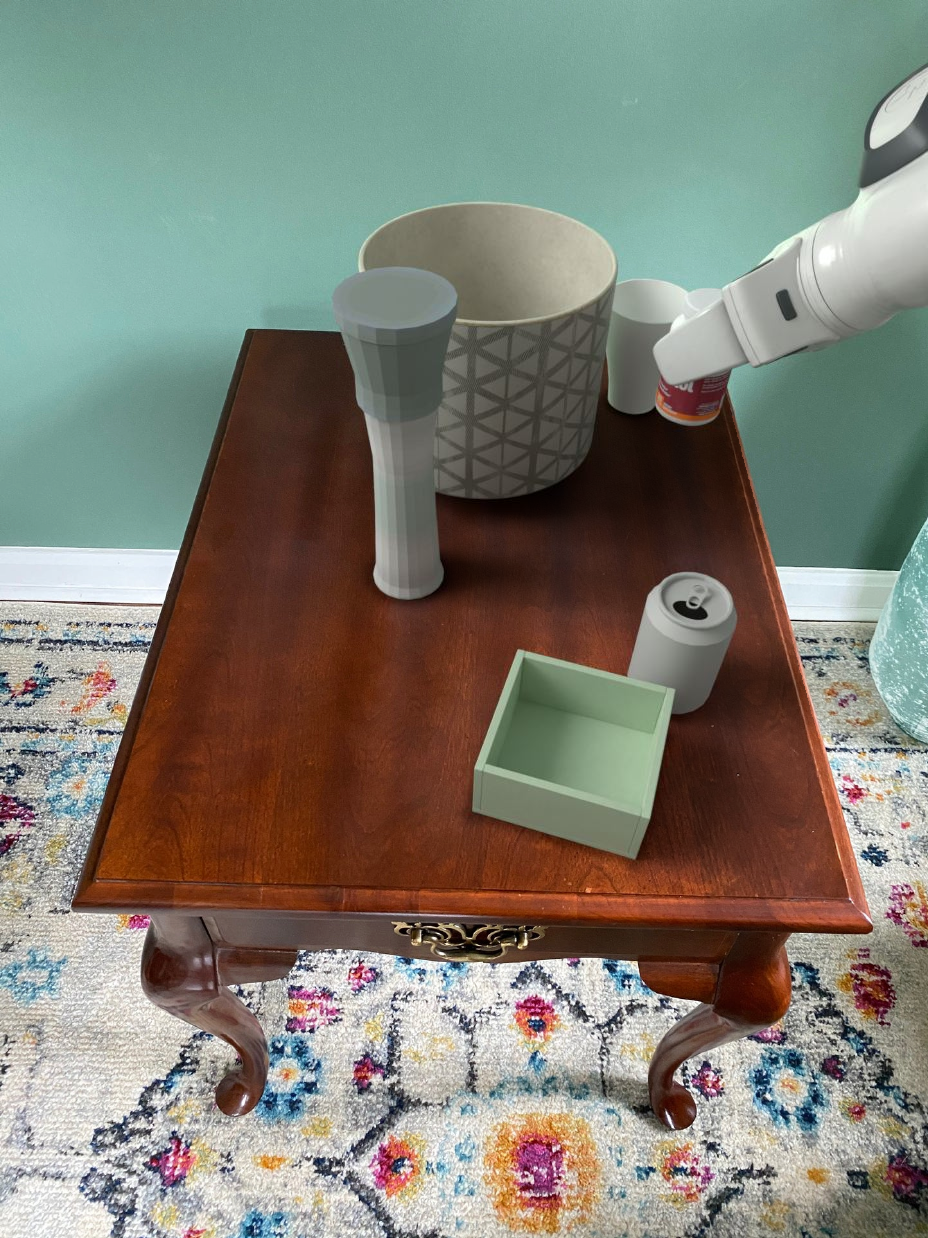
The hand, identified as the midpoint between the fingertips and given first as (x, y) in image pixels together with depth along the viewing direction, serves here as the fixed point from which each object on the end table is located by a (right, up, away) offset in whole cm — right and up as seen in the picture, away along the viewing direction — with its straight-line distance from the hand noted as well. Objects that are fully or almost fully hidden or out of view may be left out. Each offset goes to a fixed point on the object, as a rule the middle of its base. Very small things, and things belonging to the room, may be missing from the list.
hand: (694, 349), depth 77 cm
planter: (-19, -5, +23) cm, 30 cm away
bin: (-12, -37, -5) cm, 39 cm away
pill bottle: (0, -5, +4) cm, 6 cm away
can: (-2, -31, +1) cm, 31 cm away
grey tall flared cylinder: (-26, -20, +10) cm, 35 cm away
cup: (0, +3, +31) cm, 31 cm away
